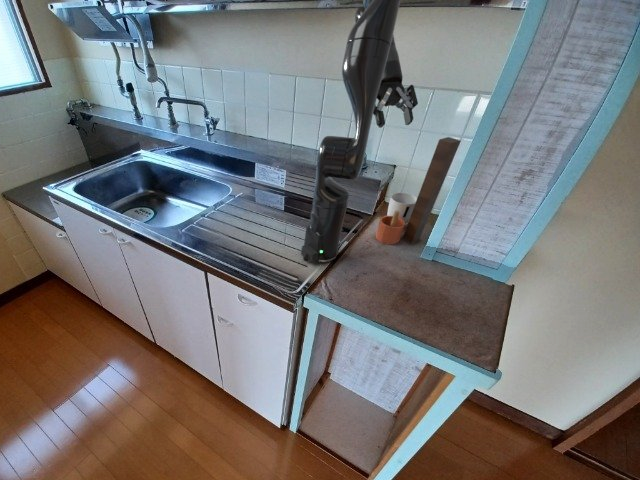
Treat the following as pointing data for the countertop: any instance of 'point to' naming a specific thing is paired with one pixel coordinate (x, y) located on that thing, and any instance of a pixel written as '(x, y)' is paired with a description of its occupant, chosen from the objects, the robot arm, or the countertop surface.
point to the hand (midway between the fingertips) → (395, 124)
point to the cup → (402, 205)
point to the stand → (430, 188)
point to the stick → (394, 218)
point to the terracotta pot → (389, 230)
